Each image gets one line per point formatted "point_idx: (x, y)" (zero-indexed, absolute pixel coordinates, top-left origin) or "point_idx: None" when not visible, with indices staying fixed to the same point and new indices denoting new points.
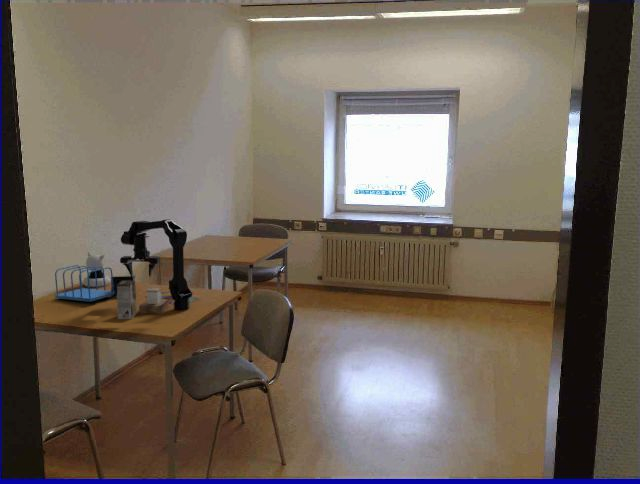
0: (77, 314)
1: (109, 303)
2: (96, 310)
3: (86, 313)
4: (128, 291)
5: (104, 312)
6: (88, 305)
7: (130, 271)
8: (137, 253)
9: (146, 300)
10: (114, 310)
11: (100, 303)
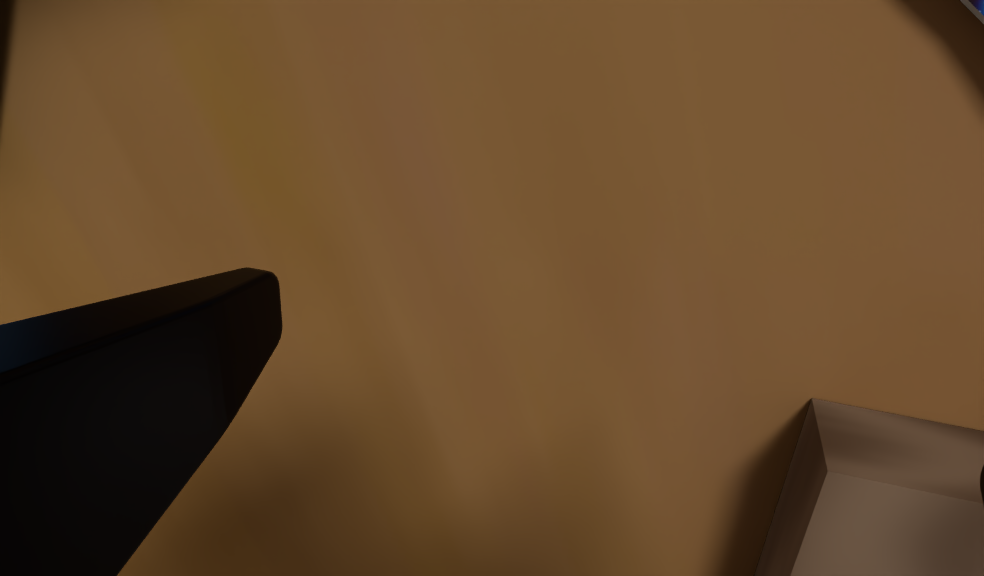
0: (130, 567)
1: (202, 190)
2: (219, 479)
3: (186, 556)
4: None
5: (333, 561)
6: (21, 265)
7: (143, 537)
8: None
9: (804, 547)
10: (405, 514)
11: (93, 180)
